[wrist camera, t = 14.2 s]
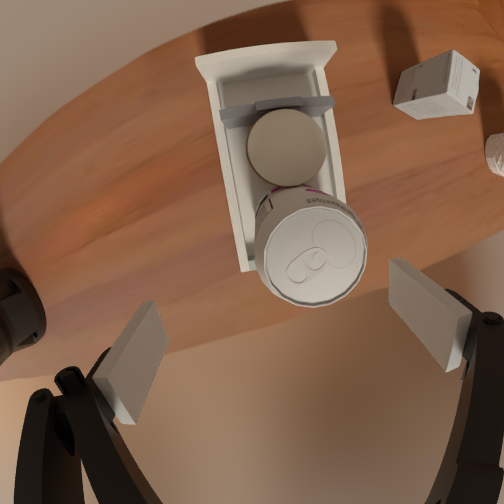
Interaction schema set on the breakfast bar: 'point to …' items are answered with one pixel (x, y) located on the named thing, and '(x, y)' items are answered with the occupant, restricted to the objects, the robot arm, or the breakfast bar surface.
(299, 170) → the jar
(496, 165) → the white cup
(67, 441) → the robot arm
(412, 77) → the skincare box
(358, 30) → the breakfast bar surface
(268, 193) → the supplement can
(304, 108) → the pusher
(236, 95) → the lane
